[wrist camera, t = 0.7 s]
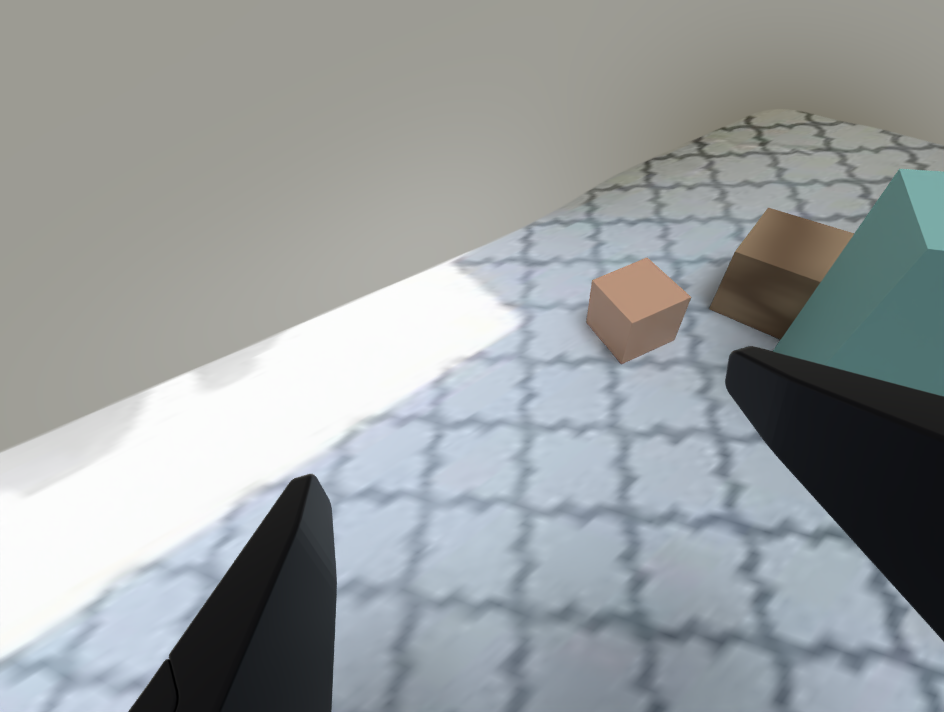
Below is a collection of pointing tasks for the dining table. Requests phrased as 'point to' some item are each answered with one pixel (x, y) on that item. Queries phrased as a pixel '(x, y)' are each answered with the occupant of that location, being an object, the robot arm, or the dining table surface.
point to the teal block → (884, 292)
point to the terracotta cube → (636, 309)
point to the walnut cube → (777, 271)
